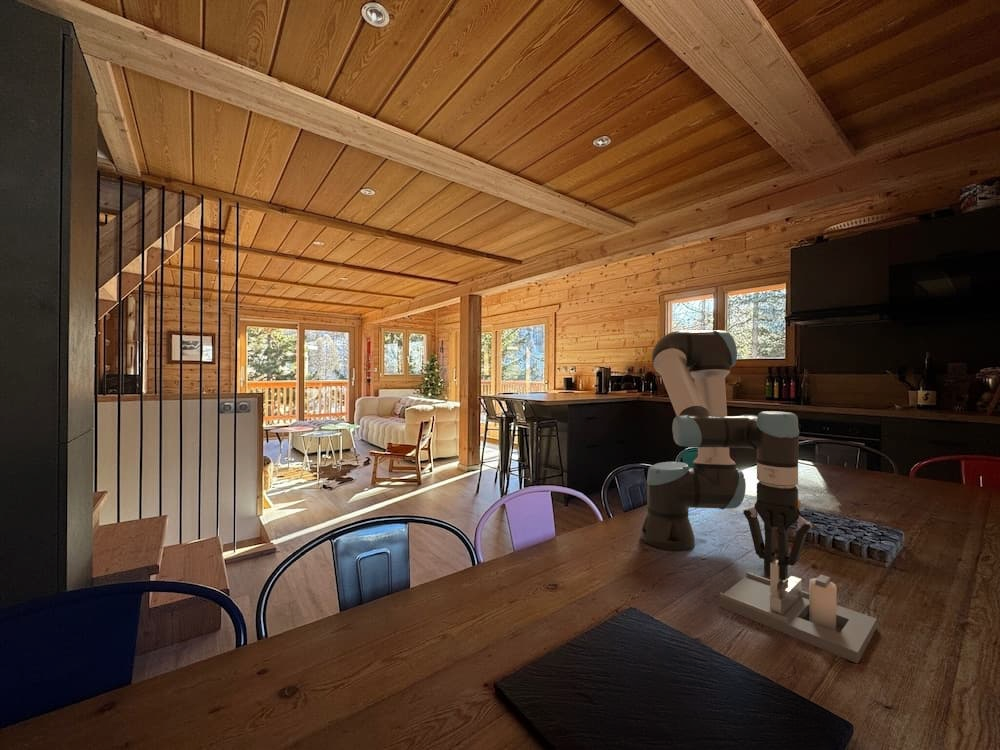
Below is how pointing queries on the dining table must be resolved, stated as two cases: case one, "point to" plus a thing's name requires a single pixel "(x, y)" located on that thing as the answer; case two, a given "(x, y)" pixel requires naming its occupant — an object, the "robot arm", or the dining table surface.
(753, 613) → the housing plate
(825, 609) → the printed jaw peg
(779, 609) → the lock bar
